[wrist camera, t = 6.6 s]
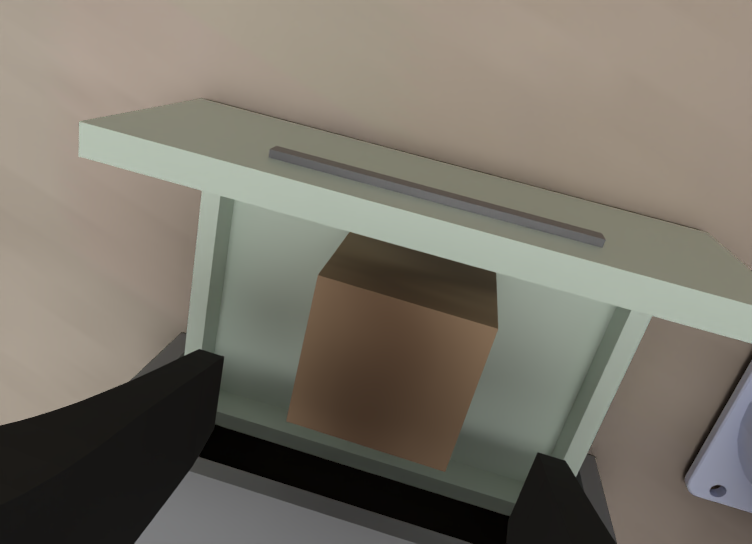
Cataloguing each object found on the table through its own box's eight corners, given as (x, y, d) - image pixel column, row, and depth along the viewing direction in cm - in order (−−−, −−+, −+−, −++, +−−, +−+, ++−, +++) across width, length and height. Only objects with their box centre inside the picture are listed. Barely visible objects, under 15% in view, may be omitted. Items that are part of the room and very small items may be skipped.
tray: (710, 226, 17) (815, 313, 12) (575, 502, 21) (606, 661, 16) (202, 92, 18) (79, 112, 13) (173, 379, 23) (72, 486, 17)
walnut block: (495, 264, 18) (498, 329, 14) (454, 383, 20) (444, 471, 16) (355, 223, 18) (317, 275, 14) (327, 344, 20) (286, 421, 16)
